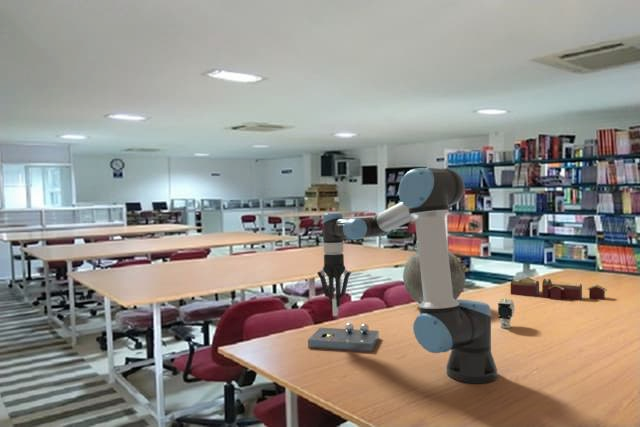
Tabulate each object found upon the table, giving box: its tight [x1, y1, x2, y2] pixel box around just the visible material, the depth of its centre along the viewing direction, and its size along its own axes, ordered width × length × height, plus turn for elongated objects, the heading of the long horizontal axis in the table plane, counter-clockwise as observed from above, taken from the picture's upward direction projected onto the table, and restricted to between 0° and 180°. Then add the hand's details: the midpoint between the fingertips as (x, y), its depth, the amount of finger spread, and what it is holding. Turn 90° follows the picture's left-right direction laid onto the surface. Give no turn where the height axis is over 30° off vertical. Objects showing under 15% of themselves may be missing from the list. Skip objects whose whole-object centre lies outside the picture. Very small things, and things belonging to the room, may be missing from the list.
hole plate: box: [307, 327, 380, 353], centre depth 185 cm, size 17×24×3 cm
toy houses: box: [510, 276, 608, 302], centre depth 260 cm, size 45×20×10 cm, turn 55°
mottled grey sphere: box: [402, 250, 466, 305], centre depth 241 cm, size 30×30×30 cm
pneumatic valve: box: [497, 298, 515, 330], centre depth 202 cm, size 6×12×12 cm, turn 152°
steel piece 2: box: [359, 323, 370, 333], centre depth 188 cm, size 3×3×3 cm
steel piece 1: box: [344, 322, 355, 332], centre depth 190 cm, size 3×3×3 cm
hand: (335, 315), depth 184 cm, fingers closed
